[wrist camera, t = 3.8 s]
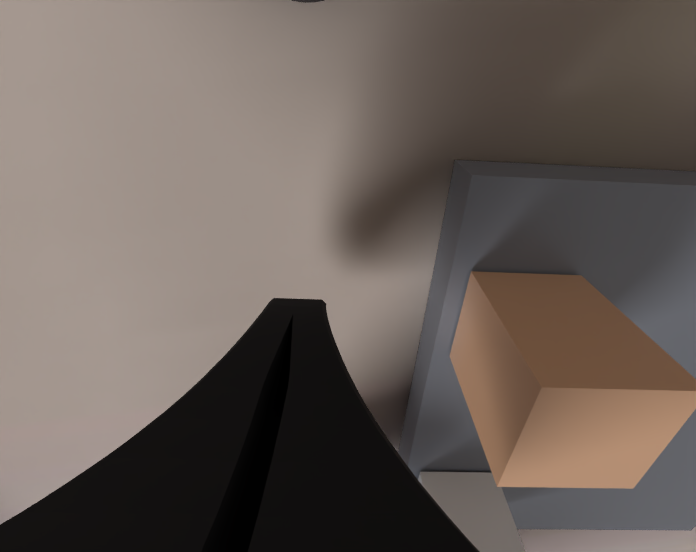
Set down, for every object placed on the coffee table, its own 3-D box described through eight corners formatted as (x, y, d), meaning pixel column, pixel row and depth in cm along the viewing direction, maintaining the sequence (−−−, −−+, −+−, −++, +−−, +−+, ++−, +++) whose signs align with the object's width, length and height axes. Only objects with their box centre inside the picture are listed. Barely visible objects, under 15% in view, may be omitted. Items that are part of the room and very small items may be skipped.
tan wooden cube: (545, 358, 11) (633, 488, 8) (449, 355, 11) (496, 486, 8) (581, 275, 10) (709, 391, 6) (470, 271, 10) (542, 387, 6)
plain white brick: (478, 513, 16) (516, 638, 13) (409, 512, 16) (428, 638, 12) (496, 472, 14) (544, 601, 11) (420, 471, 14) (445, 602, 11)
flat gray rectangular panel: (666, 497, 19) (691, 530, 17) (390, 494, 18) (393, 528, 17) (944, 183, 10) (1029, 201, 9) (454, 159, 10) (472, 175, 9)
